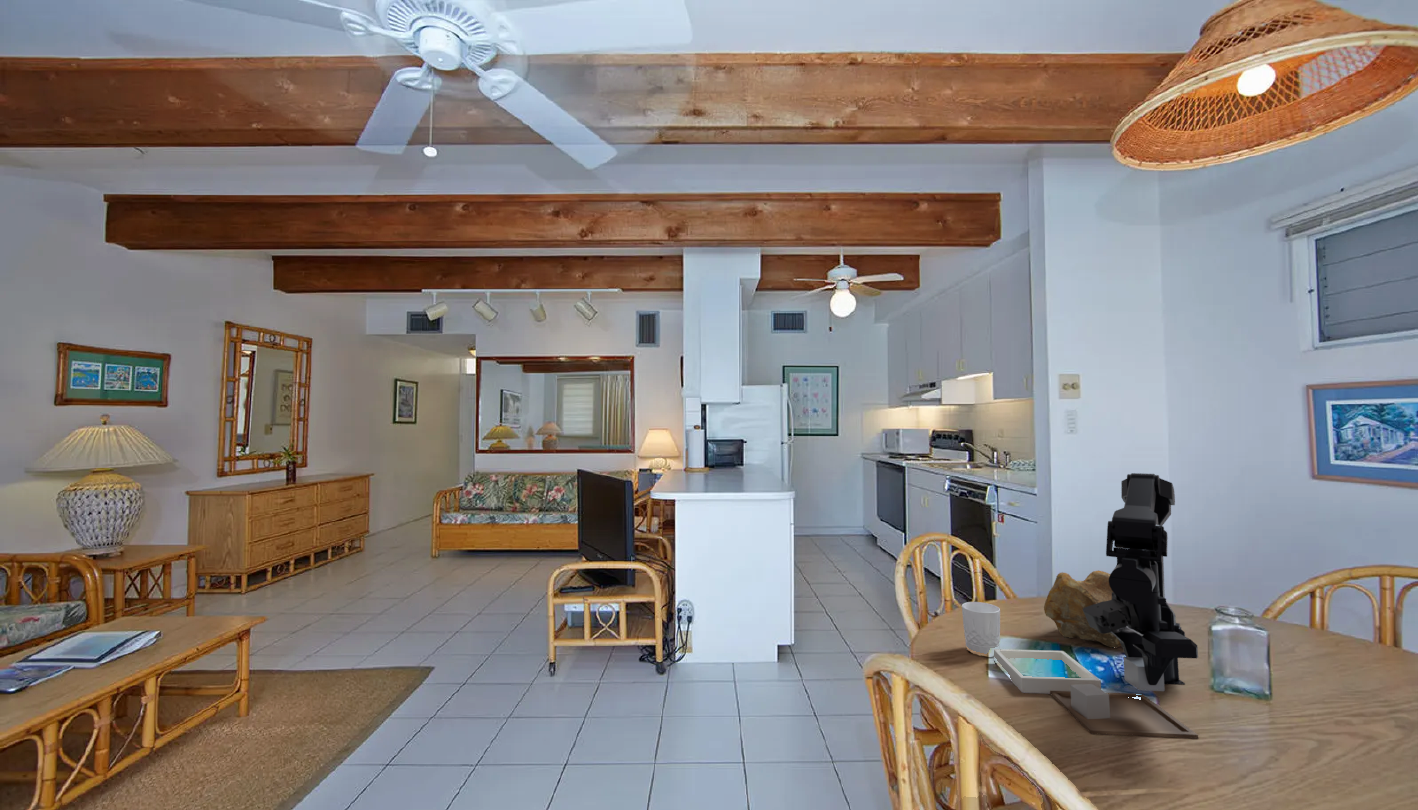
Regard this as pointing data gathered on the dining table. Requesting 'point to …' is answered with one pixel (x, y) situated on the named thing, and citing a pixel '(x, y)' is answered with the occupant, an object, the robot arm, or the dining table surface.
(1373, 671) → the dining table surface
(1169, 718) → the walnut tray
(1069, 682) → the cream dish
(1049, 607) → the rough brown rock
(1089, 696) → the small grey cuboid
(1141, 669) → the grey block
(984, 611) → the white cup
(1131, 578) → the robot arm
